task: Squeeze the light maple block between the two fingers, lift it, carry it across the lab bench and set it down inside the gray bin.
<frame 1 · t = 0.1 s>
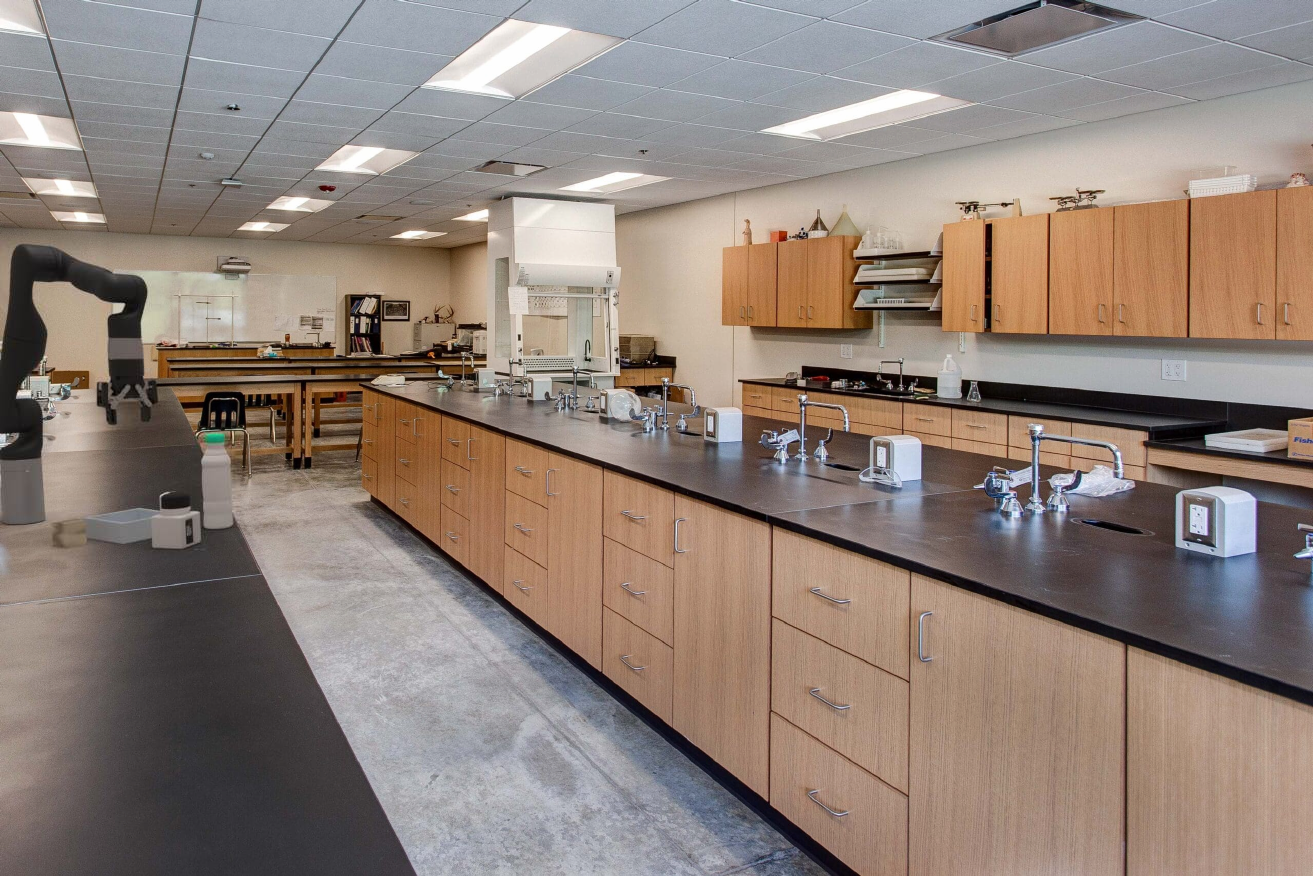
hand: (129, 423, 219), 29 cm above the countertop, tool pointing down, fingers open, 8 cm apart
maple block: (70, 545, 215), on the countertop
gray bin: (132, 534, 227), on the countertop
container: (177, 545, 217), on the countertop
water bottle: (218, 527, 238), on the countertop
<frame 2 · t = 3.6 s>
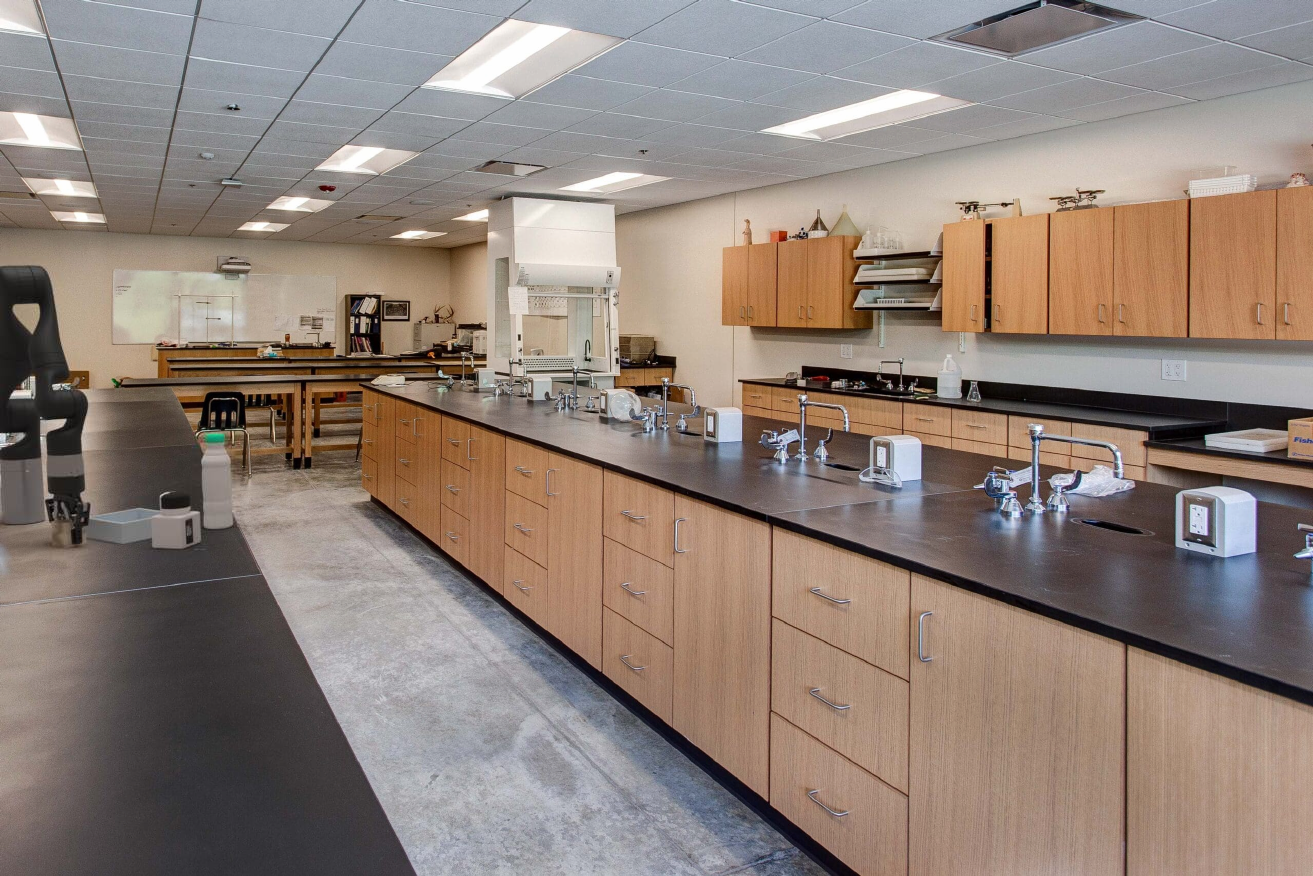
hand: (69, 542, 215), 1 cm above the countertop, tool pointing down, fingers closed on maple block, 5 cm apart
maple block: (69, 545, 215), on the countertop, touching gripper
everything else where it was.
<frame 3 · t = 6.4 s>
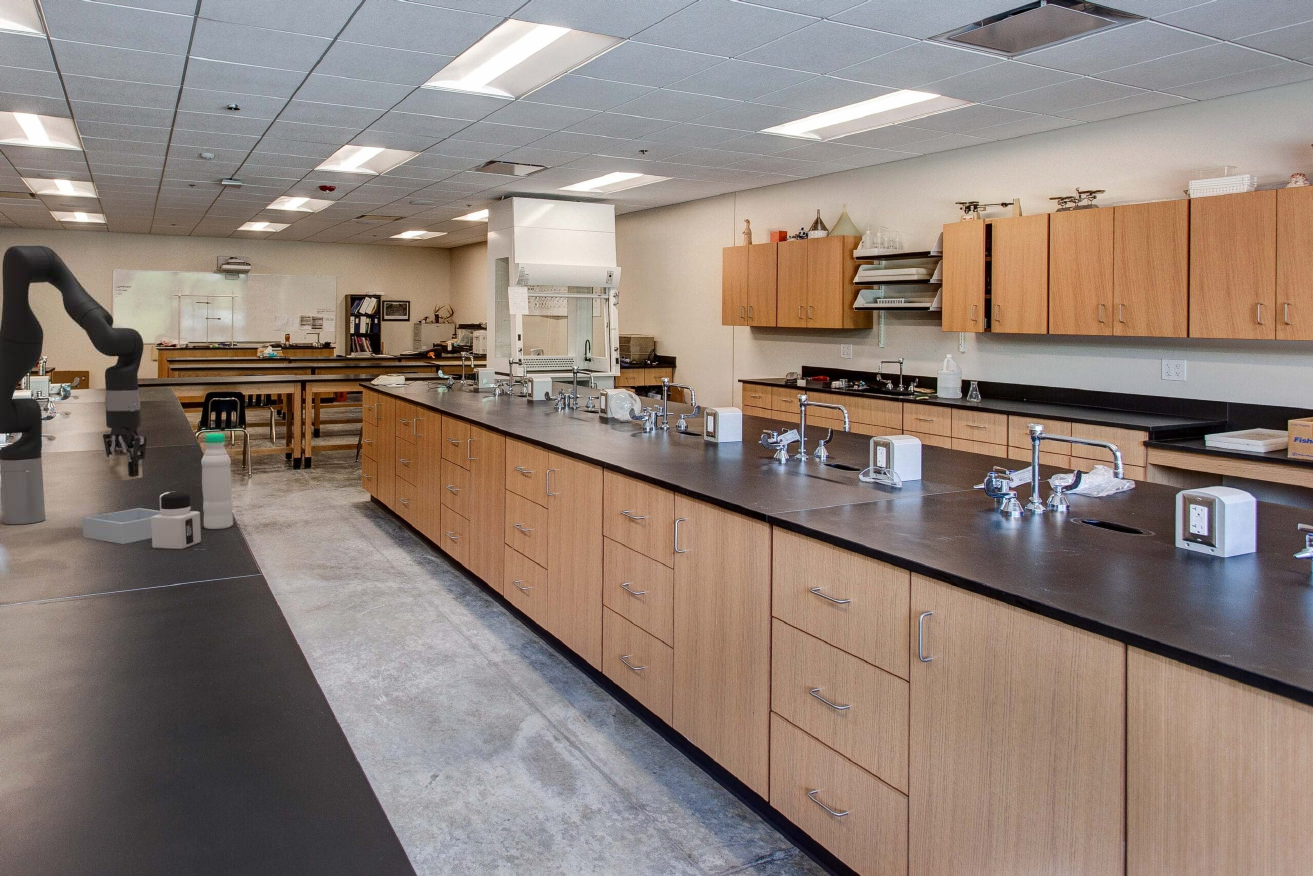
hand: (126, 475, 225), 15 cm above the countertop, tool pointing down, fingers closed on maple block, 5 cm apart
maple block: (126, 477, 225), point 15 cm above the countertop, touching gripper
everything else where it was.
when the fingers open (3 cm above the countertop, at t = 9.6 s): maple block drops 1 cm, resting on gray bin.
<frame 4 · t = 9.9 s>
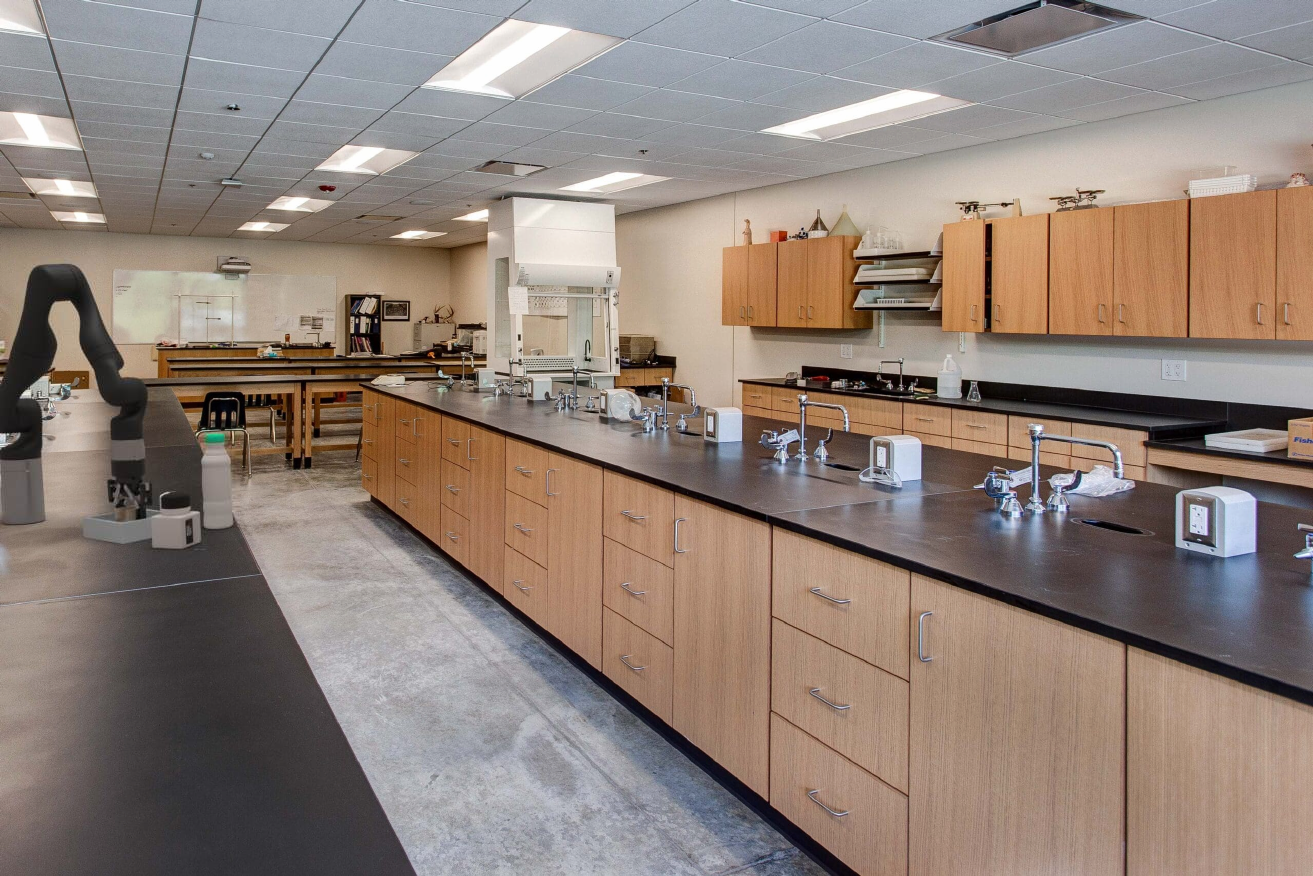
hand: (131, 521, 226), 4 cm above the countertop, tool pointing down, fingers open, 7 cm apart
maple block: (131, 531, 227), point 1 cm above the countertop, touching gray bin
everything else where it was.
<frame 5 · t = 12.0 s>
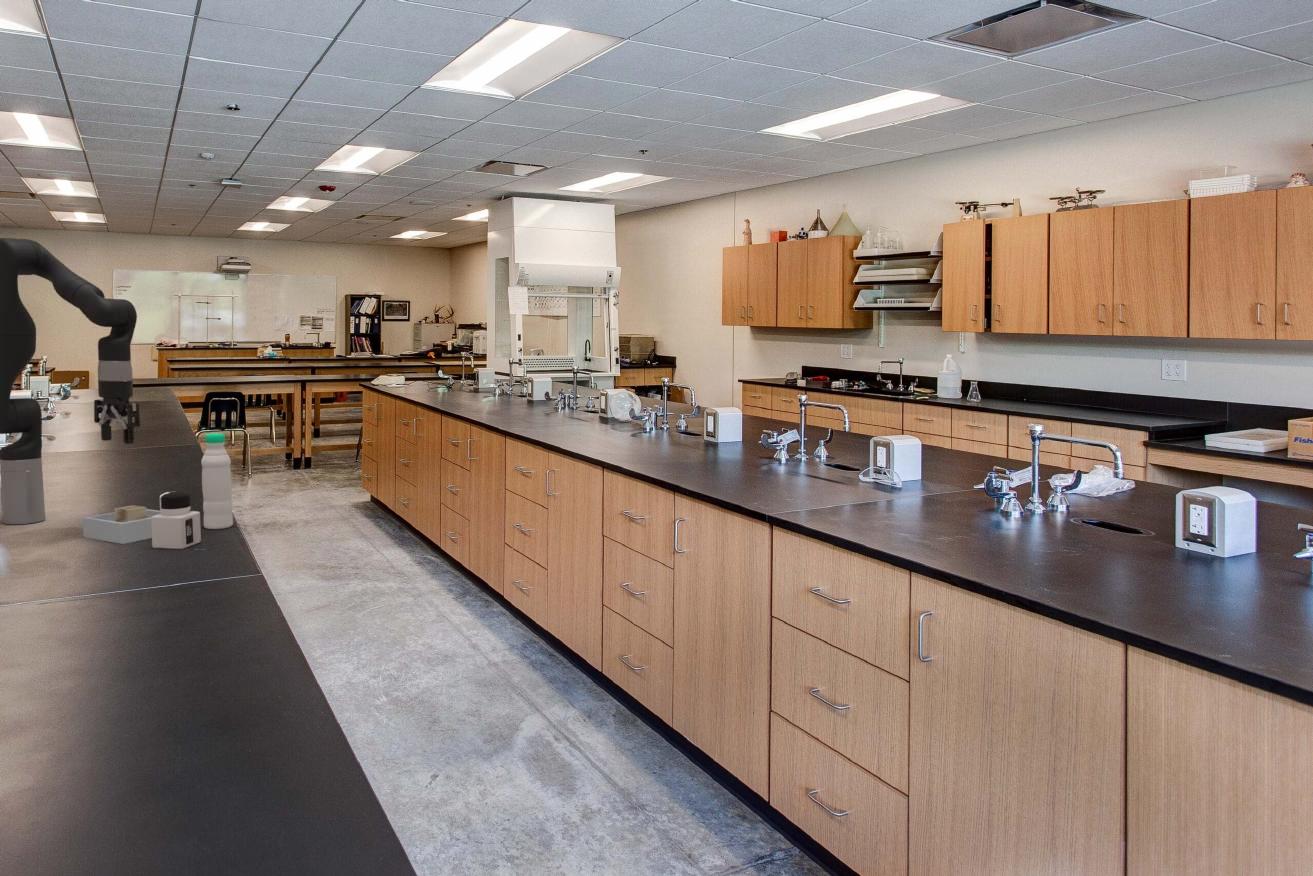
hand: (117, 441, 227), 23 cm above the countertop, tool pointing down, fingers open, 8 cm apart
nothing on the countertop moved.
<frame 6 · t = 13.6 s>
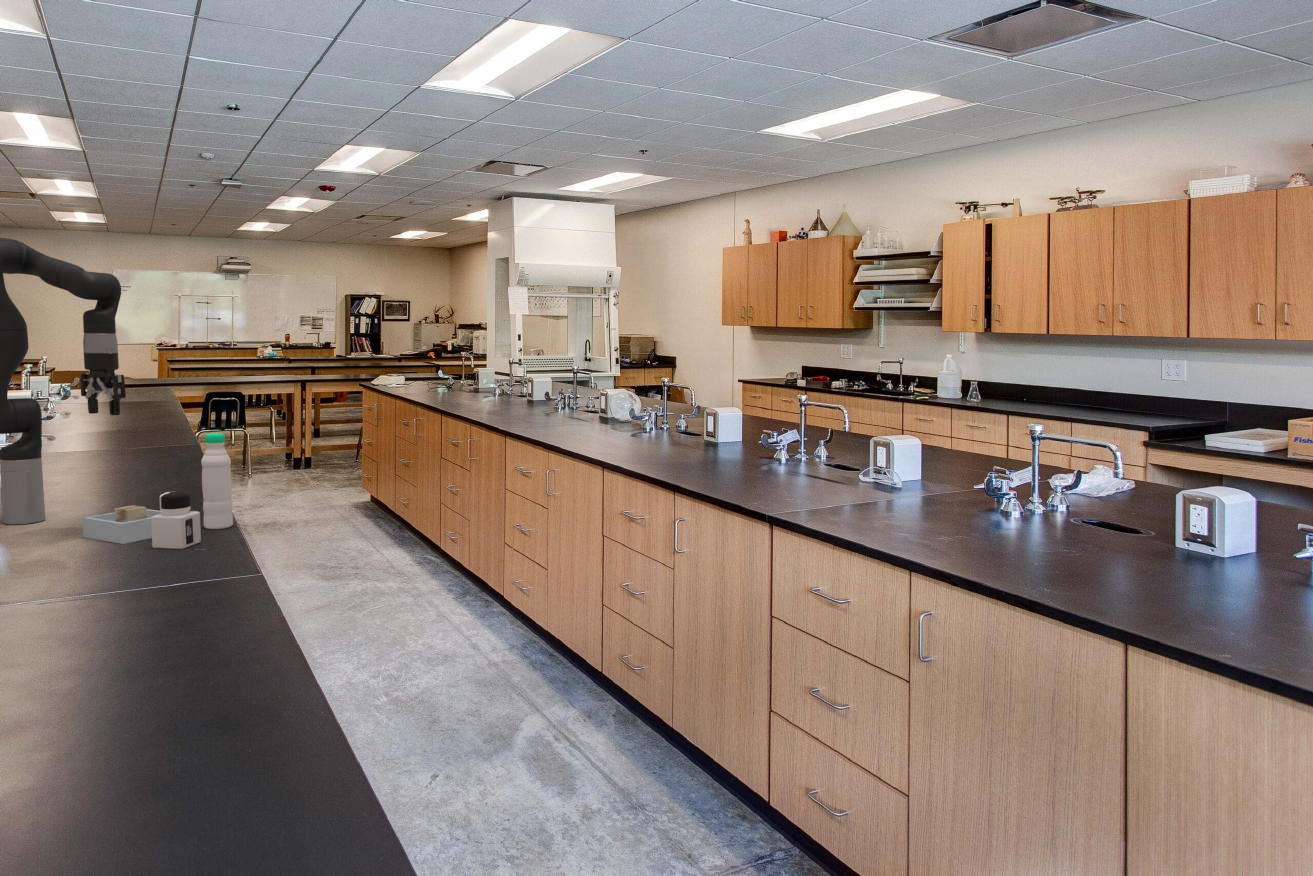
hand: (104, 414, 230), 30 cm above the countertop, tool pointing down, fingers open, 8 cm apart
nothing on the countertop moved.
at the end: maple block inside the target area on the gray bin (0.0 cm from its centre), point 1.0 cm above the gray bin's base; maple block tilted 0°; the gripper is holding nothing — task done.
